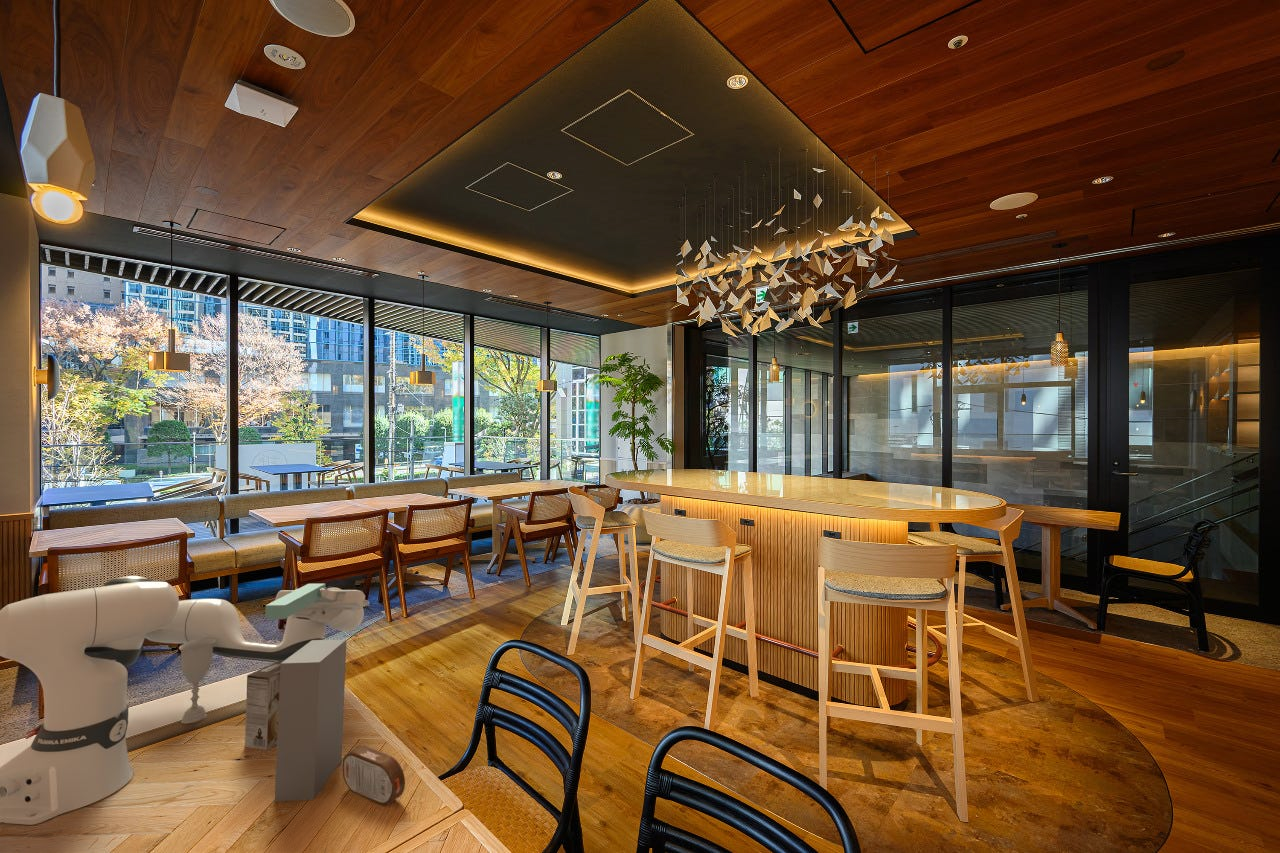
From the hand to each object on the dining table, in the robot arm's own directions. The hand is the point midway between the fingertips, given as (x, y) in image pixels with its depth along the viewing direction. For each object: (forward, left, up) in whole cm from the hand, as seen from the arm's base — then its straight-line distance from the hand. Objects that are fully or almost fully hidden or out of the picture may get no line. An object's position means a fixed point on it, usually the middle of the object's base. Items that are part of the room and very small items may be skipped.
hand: (309, 592), depth 127 cm
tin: (+26, -29, -32) cm, 50 cm away
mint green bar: (0, -5, -2) cm, 6 cm away
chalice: (-28, +5, -32) cm, 43 cm away
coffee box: (-4, -6, -32) cm, 33 cm away
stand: (+12, -23, -32) cm, 41 cm away
